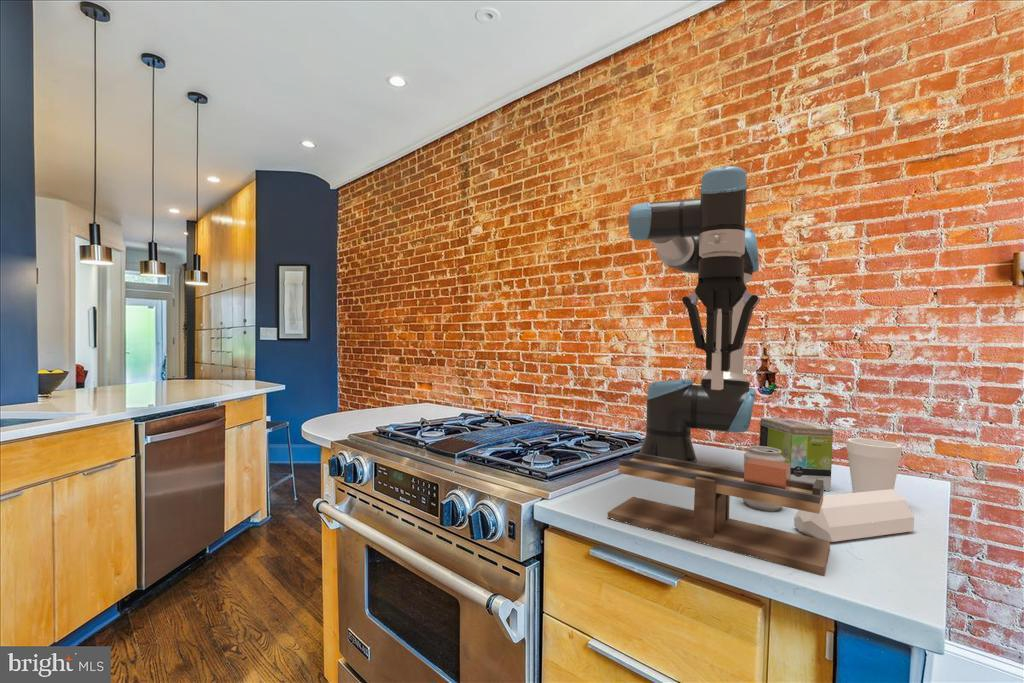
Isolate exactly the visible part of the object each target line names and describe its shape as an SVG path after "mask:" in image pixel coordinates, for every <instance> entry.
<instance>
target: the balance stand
mask: <svg viewBox="0 0 1024 683" xmlns="http://www.w3.org/2000/svg"><path fill="white" fill-rule="evenodd" d="M712 466H716V467H722V468H728V469H732V468H731V467H727V466H722V465H717V464H713V465H712ZM693 497H694V501H693V502H694V504H693V509H690V508H689V509H688V508H684V507H681V506H677V505H671V504H667V503H663V502H658V501H655V500H649V499H646V498H645V499H644V498H640V497H637V496H631V497H630V498H628V499H627V500H625V501H624V502H622V503H620V504H619V505H617V506H615V507H614V508H612V509H611V510H609V511H608V512H607V518H608V517H609V518H613V519H615V520H618V521H617V522H619V521H622V522H627V523H630V524H633V525H632V526H634V525H637V526H640V527H639V528H641V527H644V528H643V529H645V528H648V529H647V530H649V529H652V530H651V531H653V530H656V531H659V532H658V533H660V532H665V533H668V534H671V535H670V536H672V535H675V536H679V537H682V538H681V539H683V538H686V539H685V540H687V539H690V540H694V541H698V542H701V543H700V544H702V543H705V544H704V545H706V544H709V545H712V546H711V547H713V546H716V547H715V548H717V547H720V548H719V549H721V548H723V549H722V550H724V549H726V551H728V550H730V551H729V552H732V551H734V552H733V553H736V552H738V553H737V554H740V553H742V554H741V555H743V554H746V555H745V556H747V555H751V556H754V557H753V558H755V557H758V558H757V559H759V558H762V559H766V560H769V561H768V562H770V561H772V562H771V563H774V562H775V564H777V563H779V564H778V565H781V564H782V565H781V566H784V567H785V566H786V567H789V568H793V569H796V570H801V571H804V572H808V573H812V574H816V575H819V576H823V577H824V576H825V575H826V570H827V564H828V559H829V555H830V550H831V542H830V541H826V540H822V539H817V538H813V537H811V536H809V535H803V534H798V533H795V532H791V531H786V530H782V529H777V528H773V527H769V526H764V525H759V524H756V523H752V522H745V521H742V520H737V519H733V518H730V501H731V500H730V499H731V498H730V497H731V496H729V495H724V494H719V493H716V480H712V479H707V478H702V477H696V478H695V488H694V496H693ZM615 520H614V521H615ZM622 522H621V523H622ZM630 524H629V525H630ZM637 526H636V527H637ZM656 531H655V532H656ZM668 534H667V535H668ZM675 536H674V537H675ZM679 537H678V538H679ZM690 540H689V541H690ZM694 541H693V542H694ZM698 542H697V543H698ZM709 545H708V546H709ZM751 556H750V557H751ZM762 559H761V560H762ZM766 560H765V561H766Z"/></svg>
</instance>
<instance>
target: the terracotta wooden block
mask: <svg viewBox="0 0 1024 683" xmlns="http://www.w3.org/2000/svg"><path fill="white" fill-rule="evenodd" d="M790 465H791V464H790V463H784V462H777V461H771V460H765V459H758V458H752V457H750V458H749V459H748V460H747V461H746V462H745V465H744V464H743V471H744V482H750V483H755V484H761V485H766V486H771V487H777V488H782V489H787V490H789V488H790Z"/></svg>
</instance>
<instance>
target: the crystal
mask: <svg viewBox="0 0 1024 683" xmlns="http://www.w3.org/2000/svg"><path fill="white" fill-rule="evenodd" d="M793 522H794V523H793V524H794V527H795V528H796V530H797V531H798V532H799V533H802V534H805V535H806V536H809V537H813V538H817V539H822V540H826V541H830V543H834V542H841V541H849V540H855V539H856V540H857V539H864V538H871V537H879V536H885V535H892V534H901V533H908V532H909V533H910V532H914V528H915V516H914V515H913V513H912V510H911V509H910V506H909V504H908V502H907V500H906V499H905V498H904V497H903V496H902V495H901V494H900V493H898V492H897V491H896V490H895V489H894V490H893V489H889V490H878V491H868V492H857V493H853V492H850V493H848V492H847V493H838V494H828V495H827V494H826V495H823V503H822V506H821V509H820V512H819V514H817V513H812V512H807V511H802V510H797V512H796V514H795V515H794V517H793ZM872 522H873V523H872Z"/></svg>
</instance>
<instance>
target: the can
mask: <svg viewBox="0 0 1024 683" xmlns="http://www.w3.org/2000/svg"><path fill="white" fill-rule="evenodd" d="M747 449H748V450H747V451H745V453H744V454H743V466H744V465H745V462H746V461H747V460H748V459H749V458H750V457H752V458H758V459H765V460H771V461H777V462H784V463H785V458H784V457H783V456H782V455H781V452H782V451H781V450H779V449H776V448H772V447H765V446H760V445H750V446H747ZM742 500H743V501H744V502H745V504H746V505H747V506H748V507H750V508H753V509H756V510H761V511H764V512H766V511H767V512H775V511H776V512H777V511H779V510H780V509H781V508H783V506H778V505H773V504H768V503H763V502H758V501H754V500H749V499H744V498H742Z"/></svg>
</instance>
